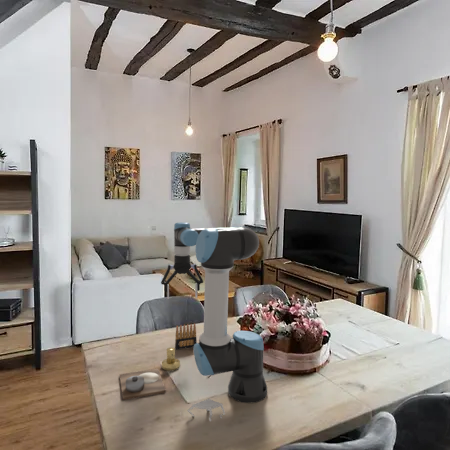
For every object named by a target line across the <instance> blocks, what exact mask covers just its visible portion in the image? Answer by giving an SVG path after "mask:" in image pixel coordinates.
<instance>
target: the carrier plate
mask: <svg viewBox="0 0 450 450" xmlns="http://www.w3.org/2000/svg"><path fill="white" fill-rule="evenodd" d="M119 382H120V389H121V395H122V401H126V400H131V399H136V398H142V397H148V396H154V395H160V394H165V393H167V390H166V386H165V384H164V382H163V379H162V376H161V372H160V370H159V368H152V369H146V370H140V371H139V370H138V371H134V372H133V371H132V372H127V373H120V374H119Z"/></svg>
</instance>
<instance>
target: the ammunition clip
mask: <svg viewBox="0 0 450 450" xmlns="http://www.w3.org/2000/svg"><path fill="white" fill-rule="evenodd" d="M175 328H176V329H175V342H174V343H175V344H174V348H175V351H176V350H183V349H191V348H194V344H196V343H198V342H197V325H196V323H195V322H194V323H190V326H189V324H188V323H187V325H186V324H183V327H182V324H180V325H179V326H178V325H176V327H175Z"/></svg>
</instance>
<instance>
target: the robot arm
mask: <svg viewBox="0 0 450 450" xmlns="http://www.w3.org/2000/svg"><path fill="white" fill-rule="evenodd" d="M173 231H174V233H173V234H174V235H173V236H174V237H173V239H174V241H173V242H174V249H173V251H174V253H173V254H174V255H173V257H174V258H173V259H174V264H169V263H168V264H167V269H166V270H165V272H164V275H163V276H162V277H163V278H162V279H161V282H160V284H161V285H163V286H164V291H165V293H166V295H167V296H166V298H167V300H169V299H170V285H169V284H170V282H171V281H172V280H173V279H174V278H175V276H177V275H178V274H179V275H181V274H183V275H187V274H188V275H189V277H191V279H193V281H194V282H195V284H194V289H195V292H194V293H195V298H196V299H197V298H198V291H201V290H200V288H201V287H200V285H201V284H203V283H204V298H203V299H204V301H203V303H204V304H203V332H202V333H201V334H200V335H199V339H198V342H197V343H196V344H194V347H193V355H194V356H193V357H194V361H195V364H196V367H197V370H198V372H199V374H200V375H202V376H204V377H207V376H215V375H218V374H224V373H229V372H232V373H231V376H230V378H229V379H230V380H229V381H228V386H227V392H228V395H229V397H230V398H231V399H233V400H235V401H237V402H239V403H244V404H245V403H246V404H253V403H258V402H261V401H263V400H264V399H265V398H266V397H267V395H268V386H267V383H266V379H265V376H264V350H265V348H264V339H263V337H262V336H261V335H260V334H258V333H256V332H253V331H250V330H236V331H234V332H233V334H232V337H231V335H229V333H228V318H229V317H228V316H229V315H228V312H229V287H230V286H229V285H230V271H231V270H232V269H233V268H234V264H235V261H241V260H245V259H248V258H251V257H252V256H254V255H255V254H256V253H257V251H258V250H259V248H260V247H259V246H260V238H259V236H258V234H257V233H256V232H255V231H254V230H253V229H251V228H247V227H241V226H240V227H203V228H202V227H201V228H199V227H197V228H191V224H190V222H175V223H174V228H173ZM194 246H195V258H196V260H197V262H199V263H200V267H201V268H203V270H204V279H203V277H202V275H201V273H200V272H199V270H198V266H197V264H196V263H193V264H192V263H191V255H190V254H191V247H194ZM191 268H192V269H193V270H194V272H195V273H196V276H197V277H198V278H196V276H195V274H194V273H192V272H191V270H190V269H191ZM173 269H174V271H173V273H171V275H170V276H169V274H170V271H171V270H173ZM168 276H169V277H168ZM167 278H168V279H167Z"/></svg>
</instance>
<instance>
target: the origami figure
mask: <svg viewBox="0 0 450 450" xmlns="http://www.w3.org/2000/svg"><path fill="white" fill-rule="evenodd" d="M195 408H196V409H200V410H206V412H209V417H208V420H209V422H212V416H213V409H216V408H220V409H221V410H222V414H219V417H220V419H223V418H222V417H223V416H224V415H226V411H225V408H224V404H223V403H222V402H219V401H215V400H213V399H211V398H210V397H209V398H207V399H204V400H201V401H198V402H196V403H193V404H191V407H189V408H188V409H187V410H186V411H187V412H188V413H189V414H190V415H192V416H191V417H195V414H193V412H191V410H193V409H195Z"/></svg>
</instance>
